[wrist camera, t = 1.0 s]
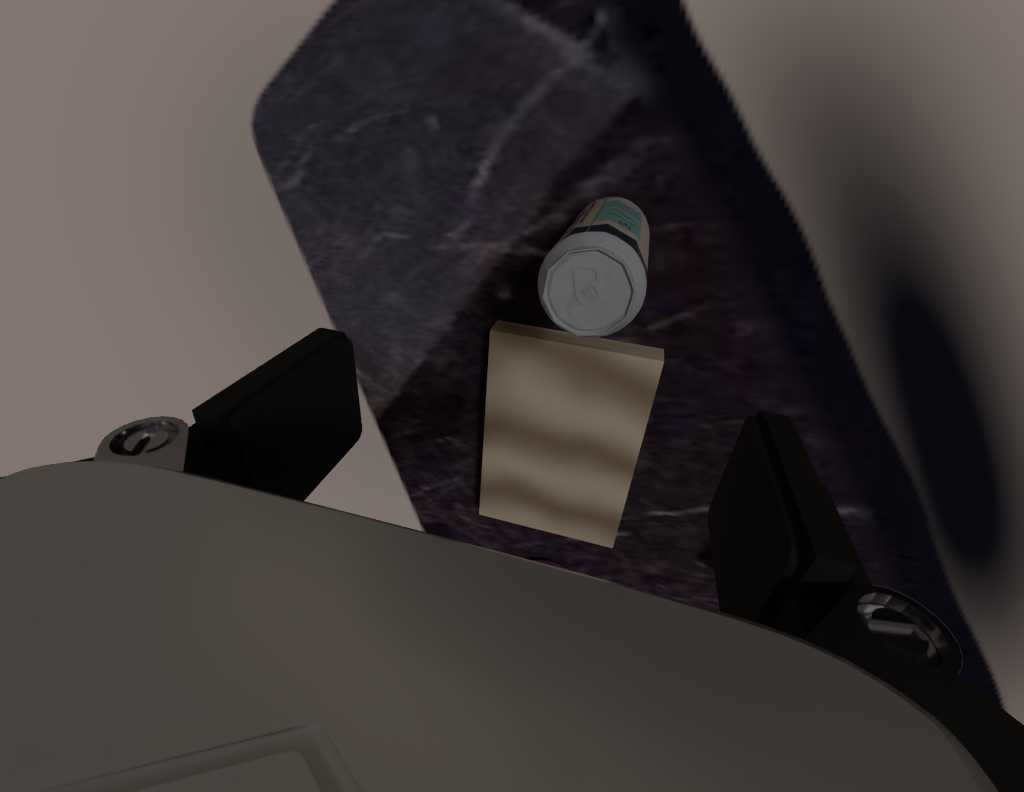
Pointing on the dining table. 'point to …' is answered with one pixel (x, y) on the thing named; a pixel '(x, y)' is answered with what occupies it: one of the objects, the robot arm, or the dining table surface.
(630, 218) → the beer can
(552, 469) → the birch board
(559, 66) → the dining table surface
